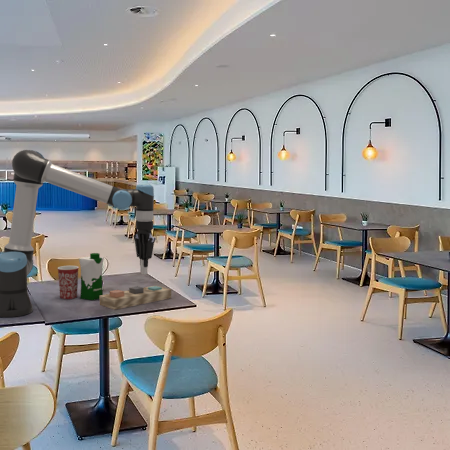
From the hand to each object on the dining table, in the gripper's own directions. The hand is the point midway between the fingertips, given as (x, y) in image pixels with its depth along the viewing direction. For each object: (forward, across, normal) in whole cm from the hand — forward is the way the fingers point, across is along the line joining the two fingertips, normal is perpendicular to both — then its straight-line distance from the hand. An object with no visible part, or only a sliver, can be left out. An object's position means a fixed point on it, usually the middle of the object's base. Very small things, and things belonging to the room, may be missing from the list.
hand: (143, 273), depth 242 cm
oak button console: (+12, 0, +4) cm, 12 cm away
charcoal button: (+9, 0, +4) cm, 9 cm away
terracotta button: (+9, 0, +14) cm, 17 cm away
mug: (+12, +27, +20) cm, 36 cm away
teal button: (+10, -1, -6) cm, 11 cm away
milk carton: (+12, +18, +15) cm, 26 cm away
